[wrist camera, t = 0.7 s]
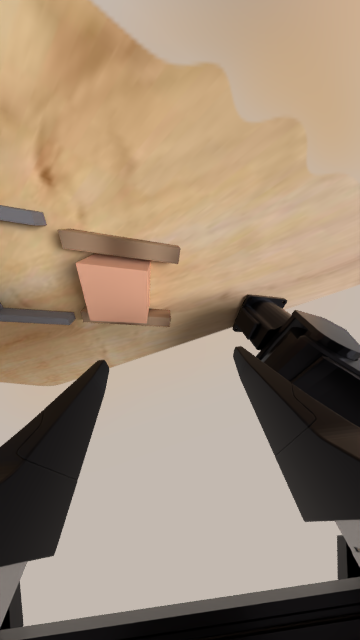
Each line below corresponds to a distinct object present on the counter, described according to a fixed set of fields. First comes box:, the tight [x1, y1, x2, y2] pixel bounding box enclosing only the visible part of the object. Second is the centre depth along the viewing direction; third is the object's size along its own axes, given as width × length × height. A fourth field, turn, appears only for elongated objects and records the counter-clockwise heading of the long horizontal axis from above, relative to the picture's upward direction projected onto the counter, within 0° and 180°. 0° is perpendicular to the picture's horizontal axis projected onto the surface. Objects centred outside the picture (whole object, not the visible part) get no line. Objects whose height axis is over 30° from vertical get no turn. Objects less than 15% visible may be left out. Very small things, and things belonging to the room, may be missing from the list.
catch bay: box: [0, 205, 76, 325], centre depth 15 cm, size 9×12×2 cm
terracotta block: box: [76, 254, 151, 324], centre depth 16 cm, size 6×6×4 cm
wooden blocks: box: [58, 229, 180, 327], centre depth 17 cm, size 11×10×2 cm
